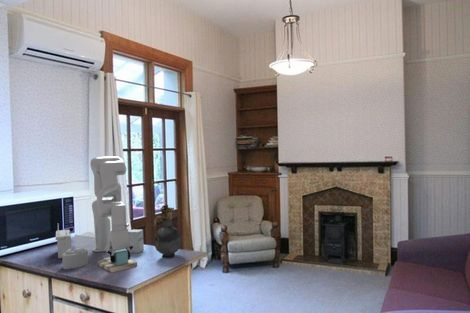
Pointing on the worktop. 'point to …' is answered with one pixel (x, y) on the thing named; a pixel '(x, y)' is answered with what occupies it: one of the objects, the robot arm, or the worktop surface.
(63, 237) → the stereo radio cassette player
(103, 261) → the ticket board
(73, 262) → the lumpy-topped squat cylinder
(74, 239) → the worktop surface
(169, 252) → the pitcher
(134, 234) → the supplement box
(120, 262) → the block
